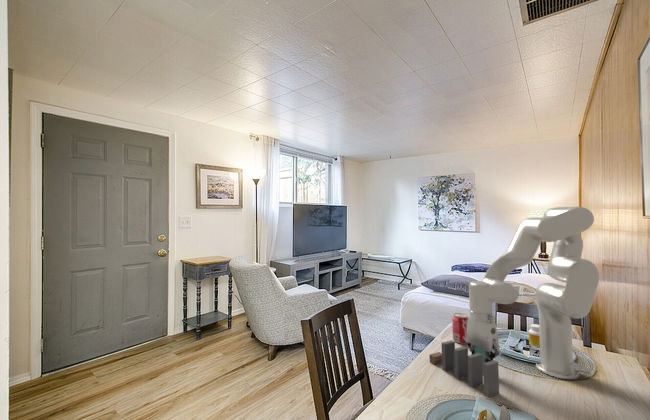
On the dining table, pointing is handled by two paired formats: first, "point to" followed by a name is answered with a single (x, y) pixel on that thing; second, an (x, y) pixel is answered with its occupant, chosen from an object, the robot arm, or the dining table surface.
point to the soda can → (459, 327)
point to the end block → (436, 358)
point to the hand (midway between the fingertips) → (482, 365)
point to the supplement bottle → (534, 335)
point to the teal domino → (481, 351)
